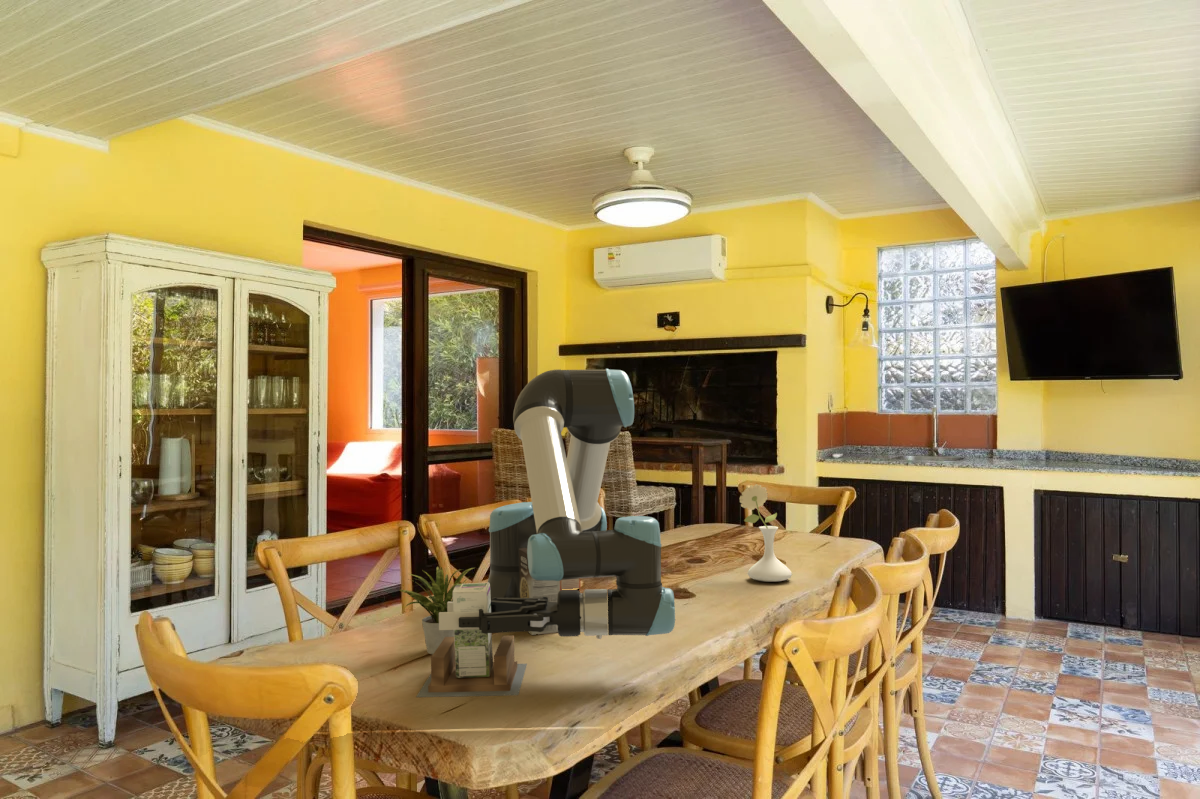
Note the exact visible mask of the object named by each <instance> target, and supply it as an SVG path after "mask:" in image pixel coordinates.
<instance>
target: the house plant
mask: <svg viewBox="0 0 1200 799" xmlns="http://www.w3.org/2000/svg"><path fill="white" fill-rule="evenodd" d="M475 568H477V567H471V568H467V569H465V570H463V569H462V568H461V569H458V570H456V571H454V572H453V573H452V575H451V576H450V577H449V573H446V574H445V575H444V569H443V567H441V566H440V567H439V566H436V572H435V573H436V574H435V576H436V578H435V580H434V578H433V577H432V576H431V575H430V574H429V573H428V572H426V571H425V570H423V573H424V574H426V575H427V576H428V577H429V579H430V580H431V584H430V582H428V581H427V580H426V579H425V578H424V577H422V576H420V575H416V574H412V573H409V575H410V576H413V577H416V580H418V581H420V582H421V583H422V584H423V586H424V587H425V588H426V589H425V588H424V587H423V586H422V585H421V584H419V583H418V582H416V584H417V585H419V586H420V587H421V588H422V589H423V590H424V591H425V592H426V593H427V595H428V597H427V596H425V595H423V594H420V593H418V592H415V591H412V590H408V589H399V591H400V592H402V593H405V594H407V596H409V598H413V599H415V600H416V601H410V602H409V603H407V604H406V605H405V607H404V608H406V607H408V606H410V605H412V604H413V605H414V604H419V605H420V606H421V607H423V609H425V611H426V612H427V613H429V614H430V615H428V616H425V617H423V618H422V619H421V624H422V629H423V635H424V640H425V646H426V652H427V653H428V654H430V655H433V654H434V652H435V651H436V649H437V648H438V647H439V645H440V644H441V642H442V641H443V639H444V638H445V637H454V630H439V612H447V602H453V590H454V588H455V586H456V585H457V584H460V583H461V581H462V579H463V578H464V576H465V575H466V574H467V573H468V572H470V571H471V570H473V569H475ZM462 570H463V571H462ZM459 571H462V573H460V575H458V576H457V578H456V579H455V581H454V583H453V585H452V586H451V587H450V589H449V590H448V588H449V586H450V582H451V581H452V578H453V577H454V575H455V574H456V573H457V572H459ZM444 576H445V577H444ZM417 578H418V579H417ZM469 578H470V576H468V577H467V578H466V579H465V580H464V581H463V582H462V584H465V583H466V581H467V580H468V579H469ZM407 580H410V581H412V582H413V580H412V579H408V578H407ZM430 591H431V592H430ZM431 593H432V594H433V595H432V594H431Z"/></svg>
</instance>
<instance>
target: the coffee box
mask: <svg viewBox="0 0 1200 799" xmlns="http://www.w3.org/2000/svg"><path fill="white" fill-rule="evenodd" d="M519 581H520V598H539V597H548V602H556V603H557V599H558V592H559V591H560V581H545V580H535V579H533V578H532V577H531V575H530V573H529V568H528V557H527V548H521V549H519ZM527 632H528V633H529V634H530V635H531V636H536V634H538V635H543V634H544V635H546V634H555V633H558V626H557V625H549V626H546V628H544V631H542V632H533V631H527Z"/></svg>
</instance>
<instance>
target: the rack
mask: <svg viewBox="0 0 1200 799" xmlns="http://www.w3.org/2000/svg"><path fill="white" fill-rule="evenodd" d="M494 652H495V653H494V654H493V667H492V670H491V674H490V676H489V677H472V678H456V667H455V643H454V637H445V638H444V639H443V641H442V642H441V644H440V645H439V647H438V648H437V649H436V651H435V652H434V654H431V657H430V674H431V682H430V684H429V686H428V692H474V691H510V689H511V686H512V683H513V680H514V677H515V673H516V670H517V664H518V661H515V635H502V637H501V639H500V641H499V643H498V646H497V647H496V651H494Z"/></svg>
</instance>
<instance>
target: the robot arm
mask: <svg viewBox="0 0 1200 799" xmlns="http://www.w3.org/2000/svg"><path fill="white" fill-rule="evenodd" d="M634 419H635V400H634V393H633V387H632V383H631V381H630V378H629V375H628V374H627V373H626V372H625V371H624V370H621V369H609V368H605V369H551V370H547V371H544V372H541V373H540V374H538V375H536V376H535V377H533V378H532V379H531V380H530V381H528V382H527V383H526V385H525V386H524V388H523V389H522V390H520V393H519V395H518V396H517V399H516V400H515V404H514V409H513V413H512V420H513V428H514V432H515V435H516V436H517V437H518V439H519V440H521V444H522V451H523V456H524V463H525V468H526V474H527V482H528V487H529V493H530V498H531V501H525V502H517V503H511V504H505V505H503V506H499V507H497V508H495V509H493V510H492V511H491V512H490V514H489V528H488V532H489V571H490V572H489V576H488V580H487V582H486V583H490V595H491V613H483V610H482V609H479V611H478V612H453V602H447V612H439V630H472V629H479V630H482V633H484V634H486V633H492V634H496V633H498V634H499V633H520V632H523V633H524V632H528V631H533V632H542V631H544V628H546V626H549V625H557V626H558V632H557V634H558V635H559V636H560V637H564V638H565V637H567V638H568V637H579V636H581V633H583V634H584V636H585V637H586V636H587V637H589V636H593V637H594V636H596V639H600V640H601V639H602V638H603V636H646V637H648V636H654V635H655V636H656V635H667V634H670V633H672V632H673V630H674V628H675V625H676V624H675V623H676V605H675V604H676V603H675V595H674V590H673V589H671V588H669V587H665V586H663V583H662V546H663V545H662V543H661V542H662V541H661V530H660V522H659V521H658V520H657V519H656V518H655V517H652V516H644V515H643V516H642V515H632V516H623V517H619V518H617V519H616V521H615V524H614V527H613V529H607V528H608V525H607V524H608V522H607V515H606V511H605V510H604V508H603V506H601V505H600V503H599V496H600V492H601V487H602V484H603V478H604V474H605V469H606V465H607V462H608V461H607V459H608V455H609V450H610V447H611V443H612V442H613V441H615V440H616V439H618V438H619V435H620V433H621V430H622V427H624V428H627V427H630V426H632V425H633V423H634V421H635V420H634ZM564 428H566V431H568V434H570V437H569V438H570V439H569V444H568V450H567V454H566V450H565V444H564V441H563V436H562V432H563V430H564ZM521 548H527V557H528V568H529V573H530V575H531V577H532V578H533V579H535V580H545V581H560V580H566V579H578V578H581V579H587V578H607V577H615V578H616V581H615V582H616V583H615V584H616V588H612V589H610V588H609V589H607V588H592V589H591V588H587V589H584V590H583V592H581V591H580V590H560V591H559V592H558V599H557V603H556V602H548V597H539V598H520V581H519V549H521Z"/></svg>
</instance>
